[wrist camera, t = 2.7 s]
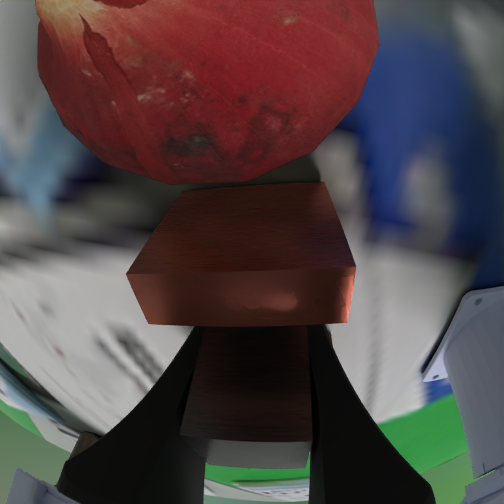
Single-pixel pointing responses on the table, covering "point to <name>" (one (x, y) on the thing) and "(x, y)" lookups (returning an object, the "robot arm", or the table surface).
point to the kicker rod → (248, 311)
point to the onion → (204, 80)
